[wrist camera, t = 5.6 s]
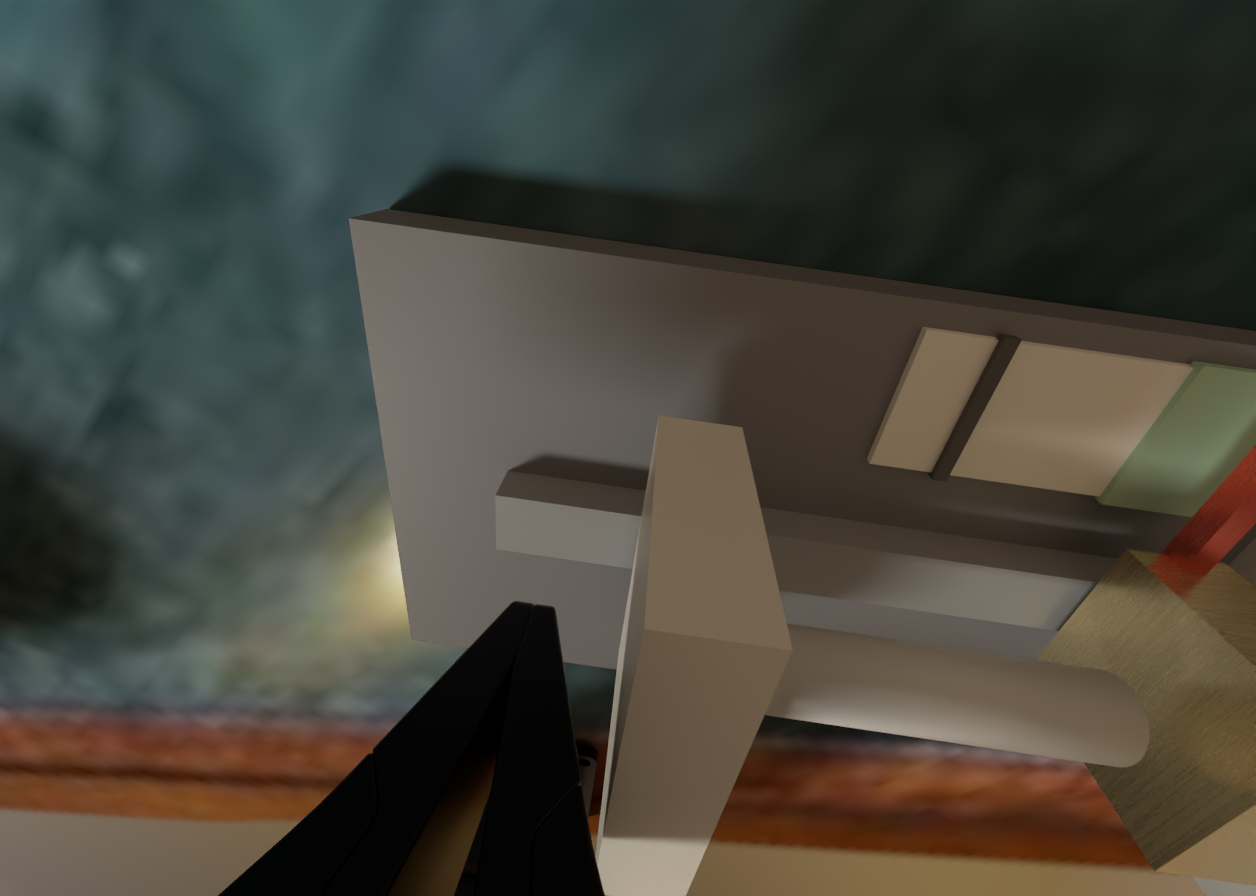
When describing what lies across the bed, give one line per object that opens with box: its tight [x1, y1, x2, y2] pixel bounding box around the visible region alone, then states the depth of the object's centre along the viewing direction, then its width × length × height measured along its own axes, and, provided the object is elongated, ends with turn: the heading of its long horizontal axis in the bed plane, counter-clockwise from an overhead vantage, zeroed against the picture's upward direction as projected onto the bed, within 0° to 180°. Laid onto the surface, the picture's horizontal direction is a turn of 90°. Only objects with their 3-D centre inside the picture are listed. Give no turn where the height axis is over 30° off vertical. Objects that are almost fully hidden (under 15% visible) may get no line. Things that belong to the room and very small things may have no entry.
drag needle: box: [1035, 445, 1256, 886], centre depth 9 cm, size 7×2×4 cm, turn 173°
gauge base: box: [349, 209, 1256, 896], centre depth 10 cm, size 12×24×8 cm, turn 83°
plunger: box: [595, 415, 1150, 896], centre depth 9 cm, size 7×9×5 cm
